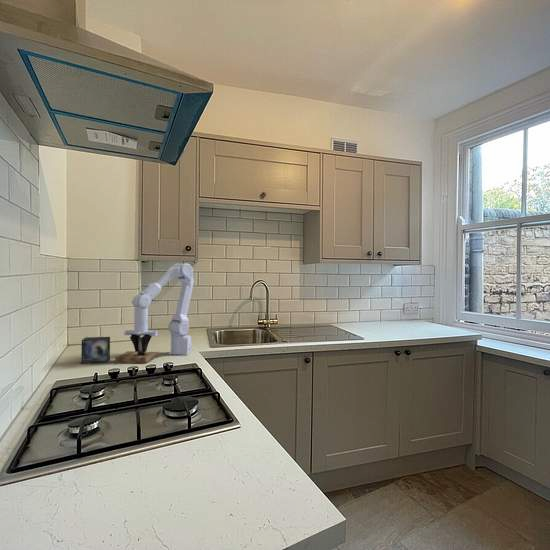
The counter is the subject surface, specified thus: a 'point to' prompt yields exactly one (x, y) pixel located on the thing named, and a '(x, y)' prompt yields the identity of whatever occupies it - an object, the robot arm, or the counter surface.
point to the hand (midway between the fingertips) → (140, 351)
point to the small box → (95, 350)
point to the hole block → (135, 357)
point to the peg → (140, 347)
